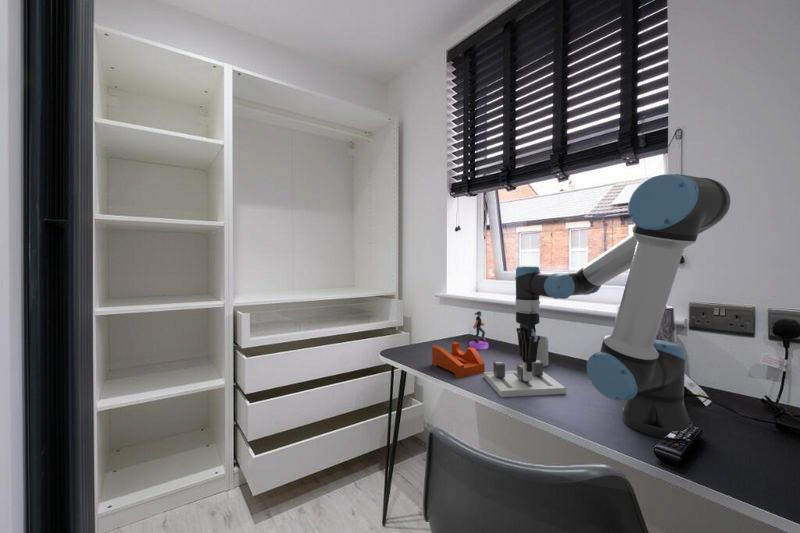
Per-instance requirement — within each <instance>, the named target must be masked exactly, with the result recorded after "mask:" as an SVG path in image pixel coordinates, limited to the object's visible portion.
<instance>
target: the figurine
mask: <svg viewBox="0 0 800 533" xmlns="http://www.w3.org/2000/svg"><path fill="white" fill-rule="evenodd" d="M474 315H475V316H476V317H475V323H474V325H473V326H472V327H473V330H476V334H475V336H474V339H473V340H472V341H469V347H468V348H470V347H472V348H474V349H476V350H487V349H488V348H489V342H487V340H486V339H485V335H486V332H485V330H484V329H483V328H482V327H484V326H485V322H482V318H481V317H482V312H481V310H479V311H478V310H477V312H475V313H474ZM480 332H481V337H480V340H478V337H479V335H480Z"/></svg>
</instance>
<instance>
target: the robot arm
mask: <svg viewBox="0 0 800 533" xmlns="http://www.w3.org/2000/svg"><path fill="white" fill-rule="evenodd" d="M731 202H732V201H731V195H730V193H729V191H728V189H727V188H726V187H725V186H724V185H723V184H722V183H721V182H720V181H717V180H715V179H712V178H709V177H708V178H707V177H698V176H692V175H687V174H679V173H674V174H673V173H672V174H659V175H655V176H653V177H650V178H649V179H647V180H645V181H644V182H643V183H640V184H639V185H638V186H637V187H636V189H635V190H633V192H632V194H631V195H630V198H629V200H628V205H627V211H628V216H630V220H631V221H632V223H633V228H632V230H631V234H630V235H629V236H627V237H625V238H624V239H622V240H621V241H619V242H618V243H617V244H615V245H613V246H612V247H610V248H609V249H607V250H606V251H604V252H603V253H601V254H600V255H599V256H597V257H595V259H593V260H591V261H589V262H588V263H586V264H585V265H584V266H582V267H581V268H579V269H578V270H576V271H571V272H569V271H568V272H541V271H540V267H539V266H538V265H520V266H517V267H516V269H515V278H514V280H515V310H516V311H515V323H517V324H519V327H516V329H515V330H516V333H517V341H518V342H517V343H518V352H519V353H518V354H519V357H521V360H522V365H523V380H524V381H532V362H536V358H537V350H538V342H539V340H540V336H541V335H537V329H536V325H538V324H540V312H539V311H540V304H541V301H540V297H545V298H553V299H555V300H559V299H561V300H566V299H569V298H570V296H587V295H588V296H589V295H591V294H594V293H597V292H598V291H599V290H600V288H601V287H602V285H604V284H605V283H607V282H608V281H611V280H612V279H614V278H616V277H618V276H620V275H621V274H623V273H624V272H626V271H628V270H629V271H628V274H627V278H626V279H627V280H626V283H625V285H624V290H623V293H622V297H621V301H620V305H619V308H618V312H617V315H616V318H615V322H614V325H613V330H612V333H610V334H607V335H605V336H604V337H603V339H602V342H601V347H600V351H597V352H595V353H593V354H592V355H591V356H589V358H588V359H587V361H586V373H587V376H588V378H589V380H590V381H591V384H592V386H593V387H594V388H595V389H596V391H597V392H599V393H600V394H601V395H603V396H604V397H606V398H607V399H610V400H613V401H624V400H625V404H624V406H623V408H622V409H621V418H622V421H623V423H625V425H627V426H628V427H630V428H631V429H632V430H633V429H634V430H635V431H638V432H640V433H643V434H644V435H648V436H651V437H655V438H659V439H664V438H663V437H665V436H666V435H668V434H669V433H670V432H672V431H678V430H685V429H687V428H689V427H692V426H693V423H692V421H691V418H690V415H689V413H688V409H687V407H686V404H685V365H686V364H685V363H686V357H685V349H684V347H683V346H681V345H680V344H678V343H674V342H671V341H665V340H661V339H657V336H658V333H659V329H660V326H661V322H662V321H663V320H662V319H663V317H664V313H665V310H666V308H667V304H668V300H669V297H670V294H671V292H672V288H673V285H674V282H675V279H676V276H677V272H678V269H679V267H680V263H681V259H682V256H683V253H684V250H685V248H687V247H689V246H692V245H693V244H695V243H696V242H697V239H698V236H699V235H700V234H701V233H704V231H706V230H709V229H711V228H712V227H715V225H717V224H719V222H721V221H722V220H723V219H724V217H725V216H726V215H727V214H728V212H729V210H730V208H731V207H730V206H731Z"/></svg>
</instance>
